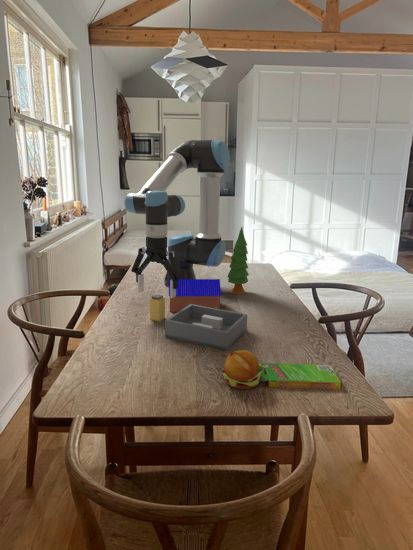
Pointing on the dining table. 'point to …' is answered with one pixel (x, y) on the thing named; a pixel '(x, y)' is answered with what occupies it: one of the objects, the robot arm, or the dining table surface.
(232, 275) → the decorative tree
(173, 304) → the house
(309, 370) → the game box
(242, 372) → the cheeseburger
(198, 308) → the box
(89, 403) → the dining table surface
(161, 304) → the yellow jar
